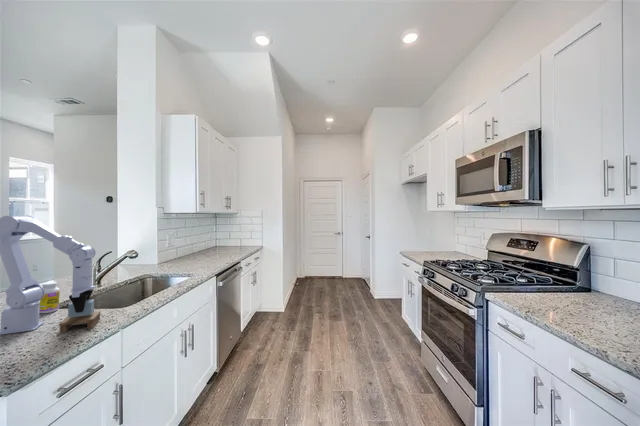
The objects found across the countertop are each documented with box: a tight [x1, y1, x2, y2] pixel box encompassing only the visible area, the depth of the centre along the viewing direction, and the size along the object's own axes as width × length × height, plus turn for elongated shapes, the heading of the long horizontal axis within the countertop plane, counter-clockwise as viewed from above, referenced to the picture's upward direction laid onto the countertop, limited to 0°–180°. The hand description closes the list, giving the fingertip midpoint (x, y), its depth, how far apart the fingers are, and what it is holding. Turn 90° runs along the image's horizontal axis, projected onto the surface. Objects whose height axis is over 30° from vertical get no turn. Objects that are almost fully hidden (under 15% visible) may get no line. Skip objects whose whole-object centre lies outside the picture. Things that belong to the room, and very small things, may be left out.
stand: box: [59, 310, 101, 333], centre depth 107 cm, size 10×10×4 cm
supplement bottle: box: [39, 281, 61, 314], centre depth 121 cm, size 7×7×13 cm
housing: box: [67, 299, 95, 317], centre depth 107 cm, size 7×4×6 cm, turn 117°
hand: (81, 310), depth 107 cm, fingers closed on housing, 4 cm apart
